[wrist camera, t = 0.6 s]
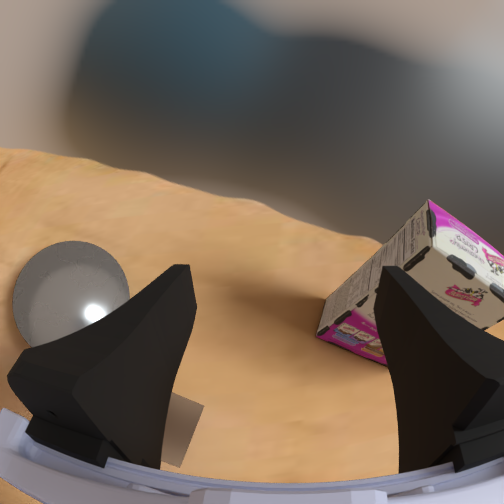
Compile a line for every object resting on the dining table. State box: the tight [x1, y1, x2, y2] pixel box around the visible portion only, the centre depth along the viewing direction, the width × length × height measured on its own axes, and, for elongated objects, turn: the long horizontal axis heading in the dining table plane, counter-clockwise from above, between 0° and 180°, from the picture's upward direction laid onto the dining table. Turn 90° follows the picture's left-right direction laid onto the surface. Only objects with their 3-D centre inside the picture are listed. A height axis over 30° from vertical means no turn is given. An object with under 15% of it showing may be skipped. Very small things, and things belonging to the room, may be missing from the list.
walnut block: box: [161, 392, 204, 468], centre depth 19 cm, size 4×4×6 cm
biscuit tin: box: [13, 241, 130, 347], centre depth 23 cm, size 10×10×3 cm
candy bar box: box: [316, 199, 504, 366], centre depth 24 cm, size 11×5×16 cm, turn 70°
